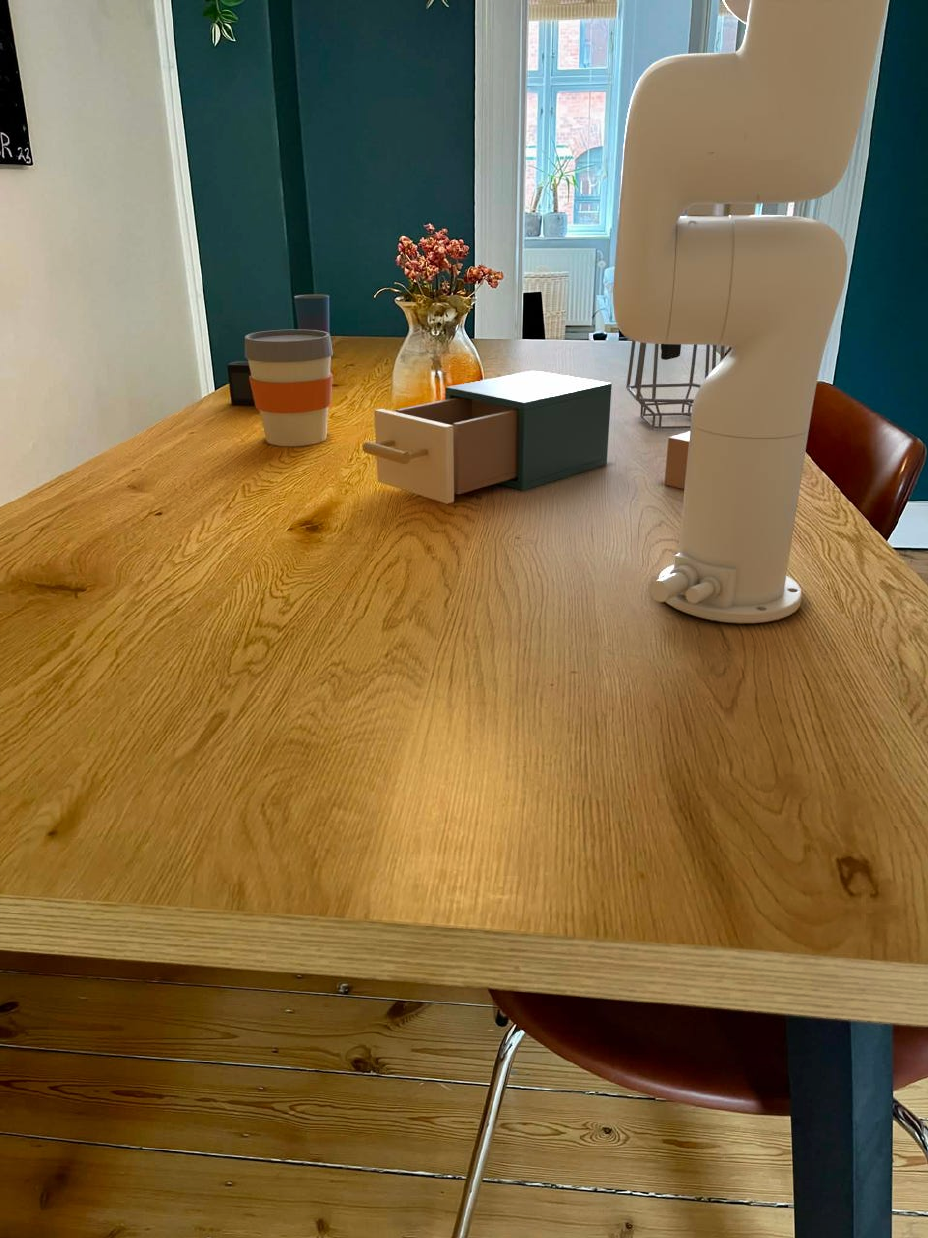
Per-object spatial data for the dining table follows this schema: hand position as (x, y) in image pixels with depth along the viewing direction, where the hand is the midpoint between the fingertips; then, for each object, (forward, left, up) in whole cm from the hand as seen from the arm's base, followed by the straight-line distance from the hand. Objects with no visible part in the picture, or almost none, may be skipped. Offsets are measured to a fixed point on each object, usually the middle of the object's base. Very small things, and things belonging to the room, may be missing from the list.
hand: (704, 363), depth 109 cm
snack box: (0, 0, -15) cm, 15 cm away
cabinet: (-9, +20, -15) cm, 26 cm away
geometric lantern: (+26, +21, -15) cm, 36 cm away
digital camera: (-12, +80, -15) cm, 82 cm away
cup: (+12, +97, -15) cm, 98 cm away
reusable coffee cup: (-22, +55, -15) cm, 61 cm away
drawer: (-24, +20, -14) cm, 34 cm away
